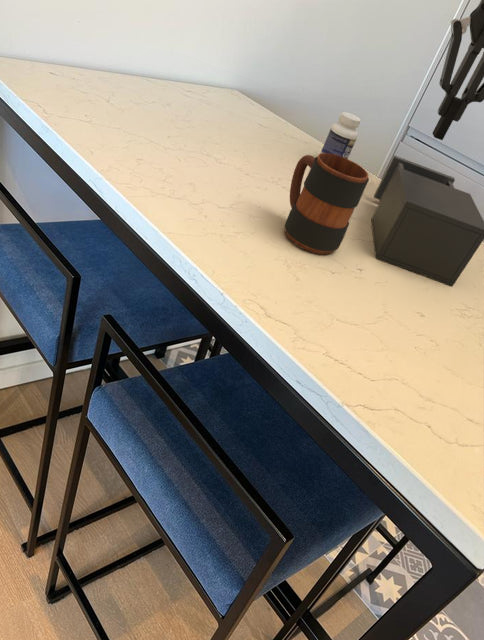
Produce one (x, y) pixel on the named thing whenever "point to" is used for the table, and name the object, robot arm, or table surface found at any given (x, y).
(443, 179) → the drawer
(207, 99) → the table surface
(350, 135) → the pill bottle
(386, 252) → the charcoal bevelled cube
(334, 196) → the mug
